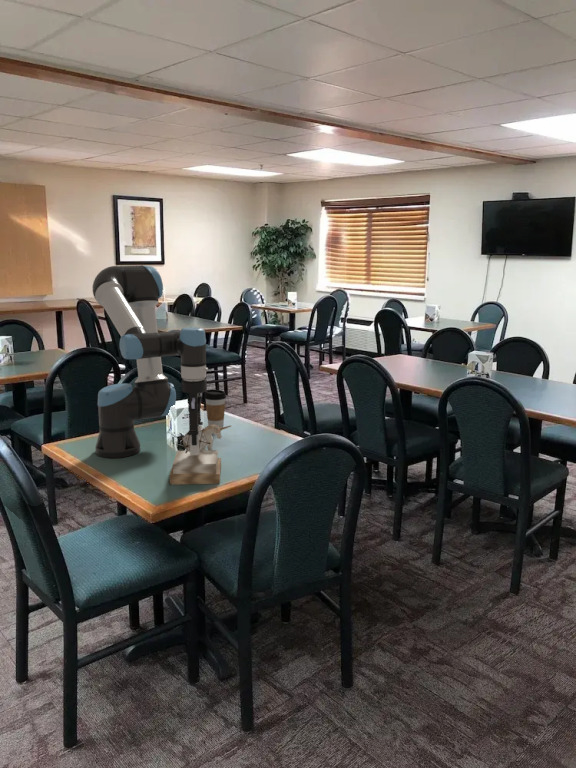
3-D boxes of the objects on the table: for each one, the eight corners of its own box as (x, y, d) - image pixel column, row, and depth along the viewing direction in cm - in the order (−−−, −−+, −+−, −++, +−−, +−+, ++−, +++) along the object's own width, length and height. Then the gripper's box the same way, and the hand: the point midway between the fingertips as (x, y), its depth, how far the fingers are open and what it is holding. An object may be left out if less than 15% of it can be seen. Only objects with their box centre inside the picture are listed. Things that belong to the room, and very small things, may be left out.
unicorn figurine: (213, 468, 201) (212, 429, 199) (184, 453, 217) (183, 416, 214) (232, 464, 206) (231, 425, 203) (202, 449, 221) (202, 413, 218)
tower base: (169, 484, 188) (169, 465, 186) (174, 467, 202) (174, 449, 201) (219, 483, 189) (219, 464, 187) (221, 466, 203) (220, 449, 202)
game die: (190, 463, 195) (182, 435, 199) (215, 454, 195) (207, 425, 199) (181, 456, 187) (173, 427, 191) (208, 446, 187) (199, 417, 191)
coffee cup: (210, 424, 252) (209, 388, 249) (229, 425, 250) (229, 389, 247) (201, 429, 245) (201, 392, 241) (222, 431, 242) (221, 394, 239)
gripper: (204, 386, 179) (206, 460, 184) (208, 371, 199) (209, 439, 204) (178, 386, 178) (180, 461, 183) (184, 372, 199) (186, 440, 204)
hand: (195, 449), depth 194 cm, fingers closed on game die, 8 cm apart
